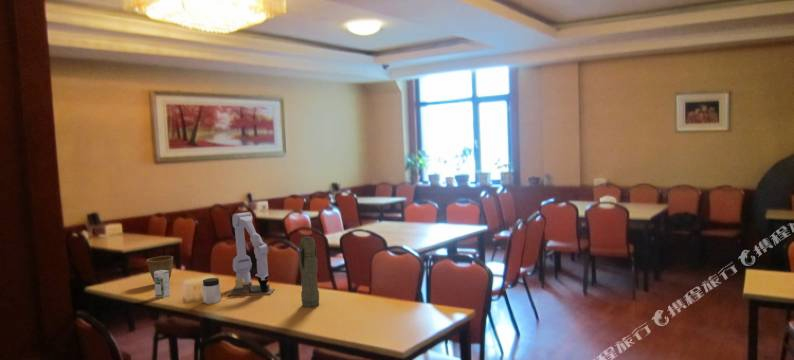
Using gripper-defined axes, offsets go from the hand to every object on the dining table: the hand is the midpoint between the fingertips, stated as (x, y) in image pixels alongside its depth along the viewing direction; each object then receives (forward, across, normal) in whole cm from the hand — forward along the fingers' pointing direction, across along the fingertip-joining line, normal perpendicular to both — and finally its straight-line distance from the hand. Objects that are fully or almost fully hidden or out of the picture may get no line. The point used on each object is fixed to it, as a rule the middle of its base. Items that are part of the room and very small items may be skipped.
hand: (263, 290), depth 326 cm
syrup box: (+2, -15, -55) cm, 57 cm away
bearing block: (+1, -2, -7) cm, 7 cm away
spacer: (-3, -3, -13) cm, 13 cm away
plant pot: (+2, -46, -60) cm, 76 cm away
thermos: (+2, +35, +23) cm, 42 cm away
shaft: (0, -2, -6) cm, 6 cm away
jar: (+2, +8, -27) cm, 28 cm away
